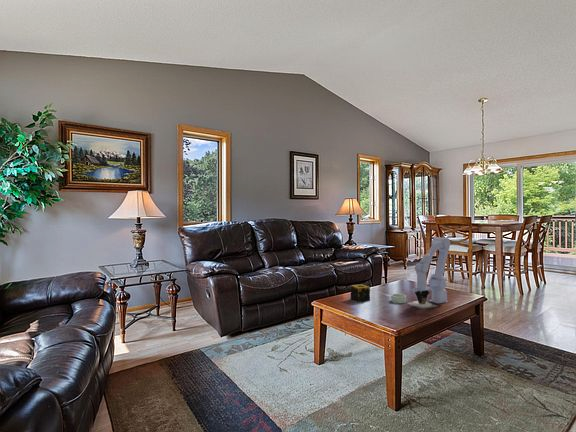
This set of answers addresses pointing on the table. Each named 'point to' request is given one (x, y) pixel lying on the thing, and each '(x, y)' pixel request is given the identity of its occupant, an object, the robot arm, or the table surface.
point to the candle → (360, 293)
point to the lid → (422, 303)
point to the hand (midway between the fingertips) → (422, 302)
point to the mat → (421, 307)
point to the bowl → (398, 298)
